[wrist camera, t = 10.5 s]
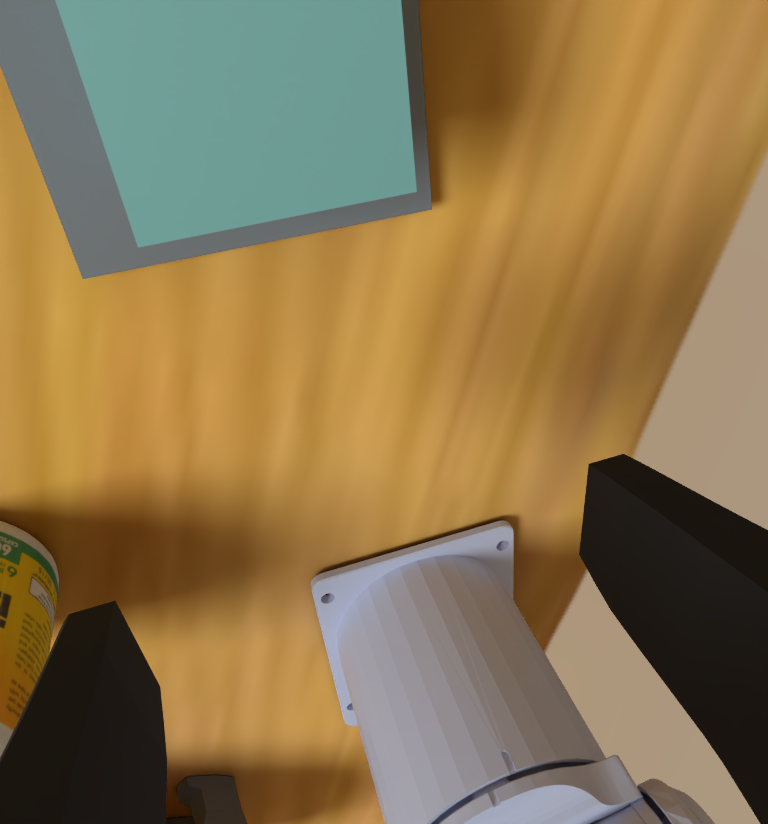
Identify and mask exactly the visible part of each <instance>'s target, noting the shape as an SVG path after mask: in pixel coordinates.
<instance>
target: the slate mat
mask: <svg viewBox="0 0 768 824" xmlns="http://www.w3.org/2000/svg"><path fill="white" fill-rule="evenodd" d="M401 5H402V17H403V29H404V41H405V54H406V66H407V78H408V90H409V103H410V115H411V127H412V139H413V152H414V164H415V176H416V188H417V192H414V193H409V194H404V195H399V196H394V197H389V198H384V199H379V200H374V201H369V202H364V203H359V204H354V205H349V206H344V207H339V208H334V209H329V210H324V211H319V212H314V213H309V214H304V215H299V216H294V217H289V218H284V219H279V220H274V221H269V222H264V223H259V224H254V225H249V226H244V227H239V228H234V229H229V230H224V231H219V232H214V233H209V234H204V235H199V236H194V237H189V238H184V239H179V240H174V241H169V242H164V243H159V244H154V245H149V246H144V247H139V248H138V246H137V243H136V240H135V237H134V234H133V231H132V228H131V225H130V222H129V219H128V216H127V213H126V210H125V207H124V204H123V201H122V198H121V195H120V192H119V189H118V186H117V183H116V180H115V177H114V174H113V171H112V168H111V165H110V162H109V159H108V156H107V154H106V151H105V148H104V145H103V142H102V139H101V136H100V133H99V130H98V127H97V124H96V121H95V118H94V115H93V112H92V109H91V106H90V103H89V100H88V97H87V94H86V91H85V88H84V85H83V82H82V79H81V76H80V73H79V70H78V67H77V64H76V61H75V58H74V55H73V52H72V49H71V46H70V43H69V40H68V37H67V34H66V31H65V28H64V25H63V22H62V19H61V16H60V13H59V10H58V7H57V4H56V1H55V0H0V66H1V69H2V71H3V74H4V76H5V79H6V82H7V84H8V87H9V89H10V92H11V95H12V97H13V100H14V102H15V105H16V107H17V110H18V113H19V115H20V118H21V120H22V123H23V125H24V128H25V131H26V133H27V136H28V138H29V141H30V144H31V146H32V149H33V151H34V154H35V156H36V159H37V162H38V164H39V167H40V169H41V172H42V174H43V177H44V180H45V182H46V185H47V187H48V190H49V193H50V195H51V198H52V200H53V203H54V205H55V208H56V211H57V213H58V216H59V218H60V221H61V223H62V226H63V229H64V231H65V234H66V236H67V239H68V242H69V244H70V247H71V249H72V252H73V254H74V257H75V260H76V262H77V265H78V267H79V270H80V272H81V275H82V278H83V279H86V278H91V277H96V276H101V275H106V274H111V273H116V272H121V271H126V270H131V269H136V268H141V267H146V266H151V265H156V264H161V263H166V262H171V261H176V260H181V259H186V258H191V257H196V256H201V255H206V254H211V253H216V252H221V251H226V250H231V249H236V248H241V247H246V246H251V245H256V244H261V243H266V242H271V241H276V240H281V239H286V238H291V237H296V236H301V235H306V234H311V233H316V232H321V231H326V230H331V229H336V228H341V227H346V226H351V225H356V224H361V223H366V222H371V221H376V220H381V219H386V218H391V217H396V216H401V215H406V214H411V213H416V212H421V211H426V210H431V209H432V203H431V187H430V172H429V156H428V141H427V125H426V110H425V94H424V79H423V63H422V47H421V32H420V16H419V1H418V0H401Z"/></svg>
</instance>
